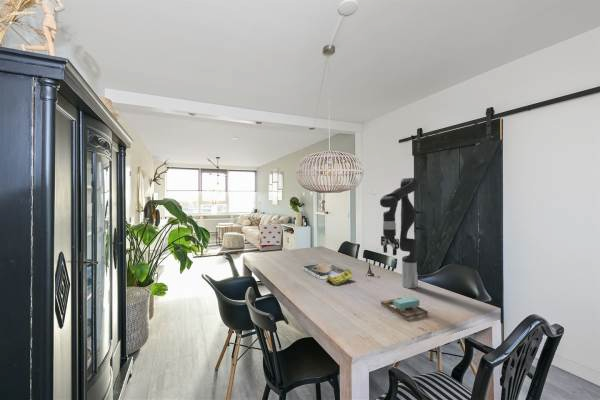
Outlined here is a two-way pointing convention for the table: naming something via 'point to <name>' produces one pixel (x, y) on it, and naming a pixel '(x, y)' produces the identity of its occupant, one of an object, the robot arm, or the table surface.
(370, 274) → the eiffel tower figurine
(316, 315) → the table surface
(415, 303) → the panel
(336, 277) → the plastic component
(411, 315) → the slot board
